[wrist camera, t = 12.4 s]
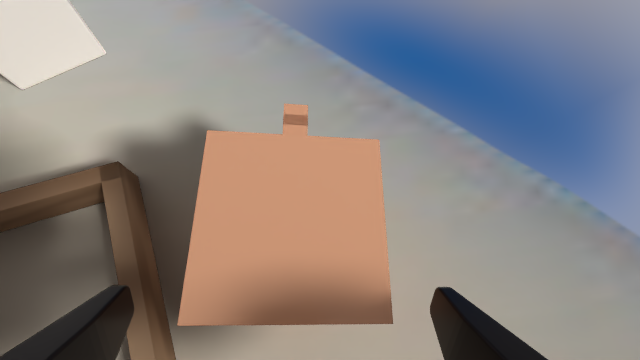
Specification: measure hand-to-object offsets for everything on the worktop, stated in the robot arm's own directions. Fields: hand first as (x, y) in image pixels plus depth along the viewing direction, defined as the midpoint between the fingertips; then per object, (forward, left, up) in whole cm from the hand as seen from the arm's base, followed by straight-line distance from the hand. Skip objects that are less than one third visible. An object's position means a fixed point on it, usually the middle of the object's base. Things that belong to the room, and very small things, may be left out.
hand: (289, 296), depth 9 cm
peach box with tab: (+2, -3, -10) cm, 10 cm away
